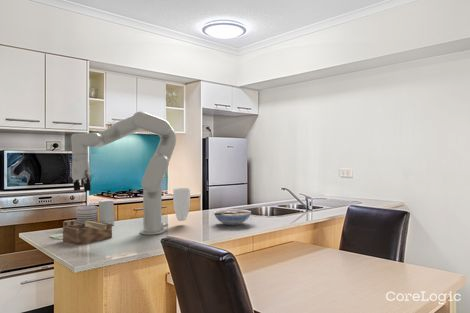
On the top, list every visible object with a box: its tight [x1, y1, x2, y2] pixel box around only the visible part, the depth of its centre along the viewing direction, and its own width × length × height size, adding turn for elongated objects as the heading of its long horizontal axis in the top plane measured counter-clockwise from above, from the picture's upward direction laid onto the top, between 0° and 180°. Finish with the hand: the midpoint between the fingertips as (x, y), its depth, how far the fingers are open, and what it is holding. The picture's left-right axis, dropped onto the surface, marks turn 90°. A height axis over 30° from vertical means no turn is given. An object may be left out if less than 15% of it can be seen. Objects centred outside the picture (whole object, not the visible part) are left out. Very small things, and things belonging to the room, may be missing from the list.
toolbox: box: [62, 220, 113, 246], centre depth 175 cm, size 18×14×9 cm
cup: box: [172, 187, 191, 222], centre depth 211 cm, size 10×10×22 cm
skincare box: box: [98, 199, 115, 226], centre depth 211 cm, size 8×6×15 cm
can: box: [75, 204, 99, 224], centre depth 206 cm, size 11×11×12 cm
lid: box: [48, 219, 77, 241], centre depth 185 cm, size 17×12×8 cm
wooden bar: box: [85, 221, 106, 230], centre depth 161 cm, size 2×14×2 cm, turn 54°
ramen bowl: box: [212, 208, 253, 226], centre depth 213 cm, size 25×23×8 cm
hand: (82, 190), depth 185 cm, fingers open, 9 cm apart
